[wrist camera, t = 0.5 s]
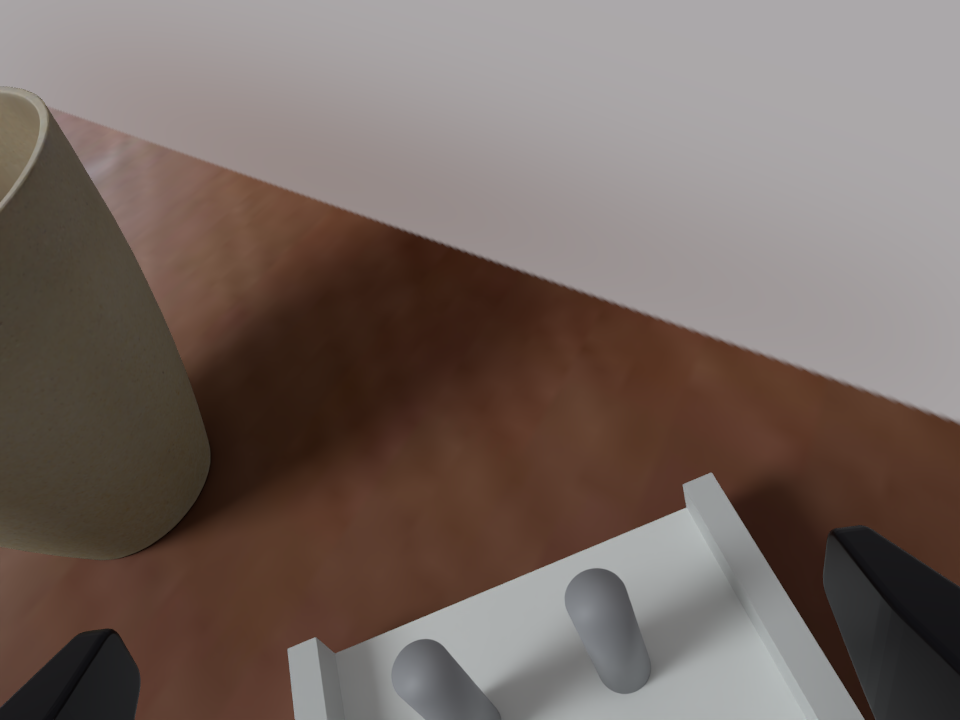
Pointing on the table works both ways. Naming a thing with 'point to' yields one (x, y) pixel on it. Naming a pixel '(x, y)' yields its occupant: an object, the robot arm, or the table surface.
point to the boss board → (557, 658)
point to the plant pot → (82, 363)
